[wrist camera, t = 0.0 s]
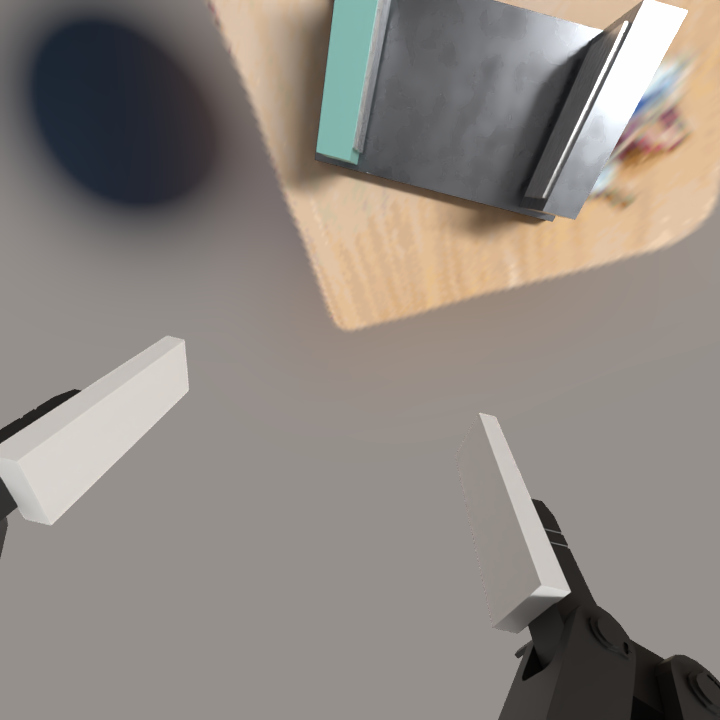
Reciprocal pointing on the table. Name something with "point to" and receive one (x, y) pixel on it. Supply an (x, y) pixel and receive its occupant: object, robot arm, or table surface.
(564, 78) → the vise base
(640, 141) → the table surface
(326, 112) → the bar
